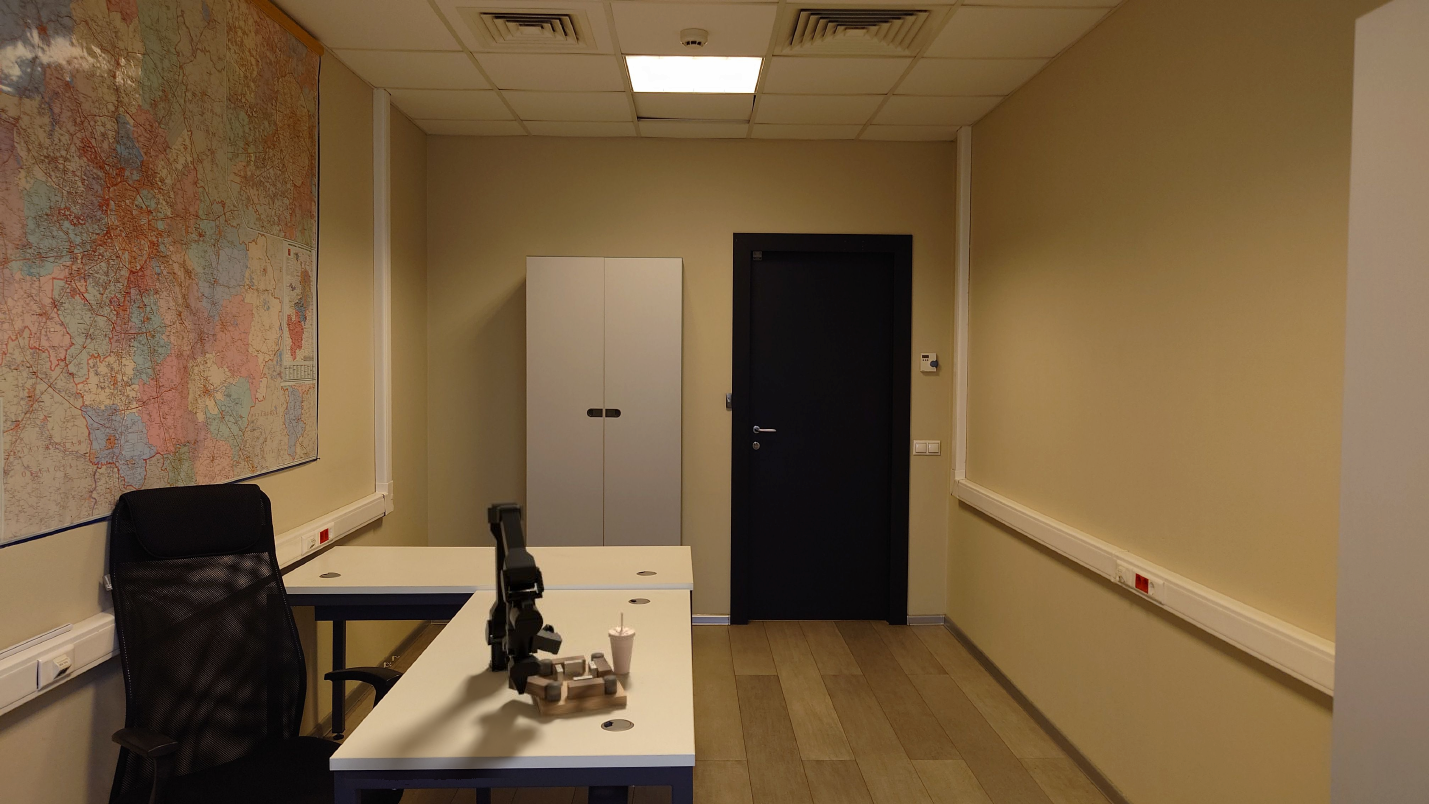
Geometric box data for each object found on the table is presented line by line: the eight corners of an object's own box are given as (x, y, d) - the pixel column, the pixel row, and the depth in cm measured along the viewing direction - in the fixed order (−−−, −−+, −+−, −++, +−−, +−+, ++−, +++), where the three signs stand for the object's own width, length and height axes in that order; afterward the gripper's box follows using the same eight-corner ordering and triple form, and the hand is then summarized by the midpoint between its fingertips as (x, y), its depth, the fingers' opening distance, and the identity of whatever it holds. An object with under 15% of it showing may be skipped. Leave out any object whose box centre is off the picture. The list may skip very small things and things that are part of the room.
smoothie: (636, 665, 190) (636, 608, 189) (634, 676, 183) (634, 617, 183) (609, 665, 190) (609, 608, 189) (606, 676, 183) (606, 617, 182)
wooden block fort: (541, 716, 163) (541, 693, 162) (530, 679, 181) (530, 658, 181) (626, 704, 169) (626, 681, 168) (607, 669, 187) (607, 648, 187)
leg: (564, 696, 167) (564, 683, 167) (554, 702, 164) (554, 688, 164) (518, 683, 173) (517, 670, 173) (508, 688, 171) (508, 675, 171)
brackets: (561, 695, 168) (561, 681, 168) (554, 675, 178) (554, 662, 178) (601, 689, 171) (601, 676, 171) (591, 670, 181) (591, 658, 181)
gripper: (566, 632, 160) (566, 707, 160) (553, 604, 177) (553, 672, 178) (509, 638, 156) (510, 715, 157) (502, 609, 173) (502, 678, 174)
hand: (521, 694), depth 167 cm, fingers closed
